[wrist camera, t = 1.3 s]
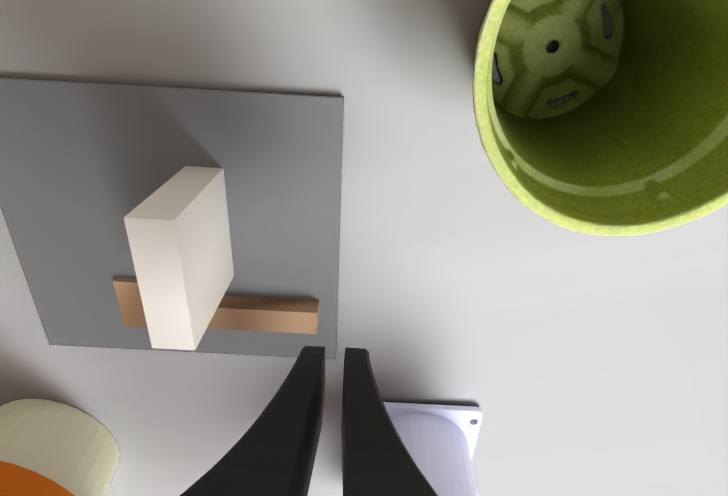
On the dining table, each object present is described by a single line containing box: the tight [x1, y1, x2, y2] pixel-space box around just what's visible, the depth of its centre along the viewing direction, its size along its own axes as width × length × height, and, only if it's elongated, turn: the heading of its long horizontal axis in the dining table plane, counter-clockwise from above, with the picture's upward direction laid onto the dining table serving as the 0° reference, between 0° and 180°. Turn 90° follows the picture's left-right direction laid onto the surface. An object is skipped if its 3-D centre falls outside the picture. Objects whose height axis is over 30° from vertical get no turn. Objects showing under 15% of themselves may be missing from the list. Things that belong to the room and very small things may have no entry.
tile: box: [124, 166, 234, 350], centre depth 20 cm, size 6×2×6 cm, turn 177°
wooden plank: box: [113, 277, 319, 334], centre depth 24 cm, size 11×3×1 cm, turn 87°
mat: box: [0, 77, 344, 359], centre depth 23 cm, size 15×17×1 cm
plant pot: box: [473, 0, 728, 236], centre depth 15 cm, size 9×9×9 cm
